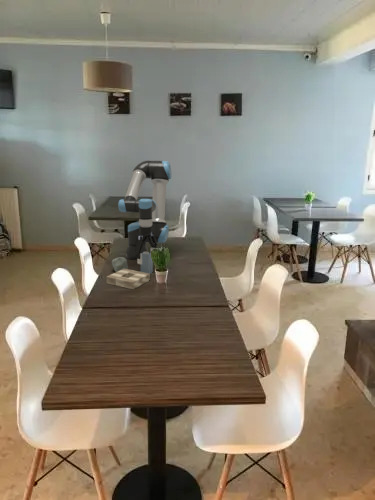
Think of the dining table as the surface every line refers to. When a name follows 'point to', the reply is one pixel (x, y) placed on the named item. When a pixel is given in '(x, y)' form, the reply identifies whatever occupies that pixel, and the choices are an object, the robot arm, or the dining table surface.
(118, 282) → the hub block
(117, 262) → the decorative stone
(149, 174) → the robot arm
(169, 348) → the dining table surface
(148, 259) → the keyed peg
